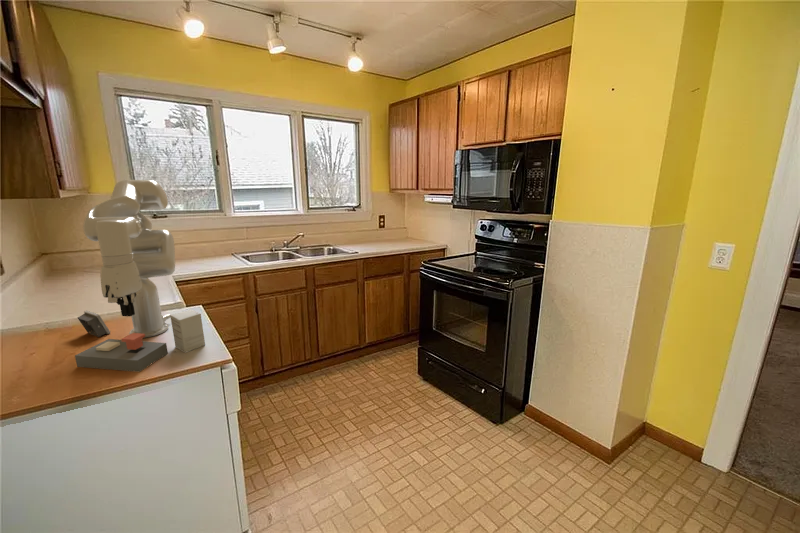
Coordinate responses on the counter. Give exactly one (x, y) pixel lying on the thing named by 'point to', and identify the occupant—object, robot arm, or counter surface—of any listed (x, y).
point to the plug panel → (122, 356)
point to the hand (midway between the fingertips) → (128, 315)
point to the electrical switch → (93, 324)
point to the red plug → (133, 340)
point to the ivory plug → (108, 346)
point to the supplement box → (187, 330)
